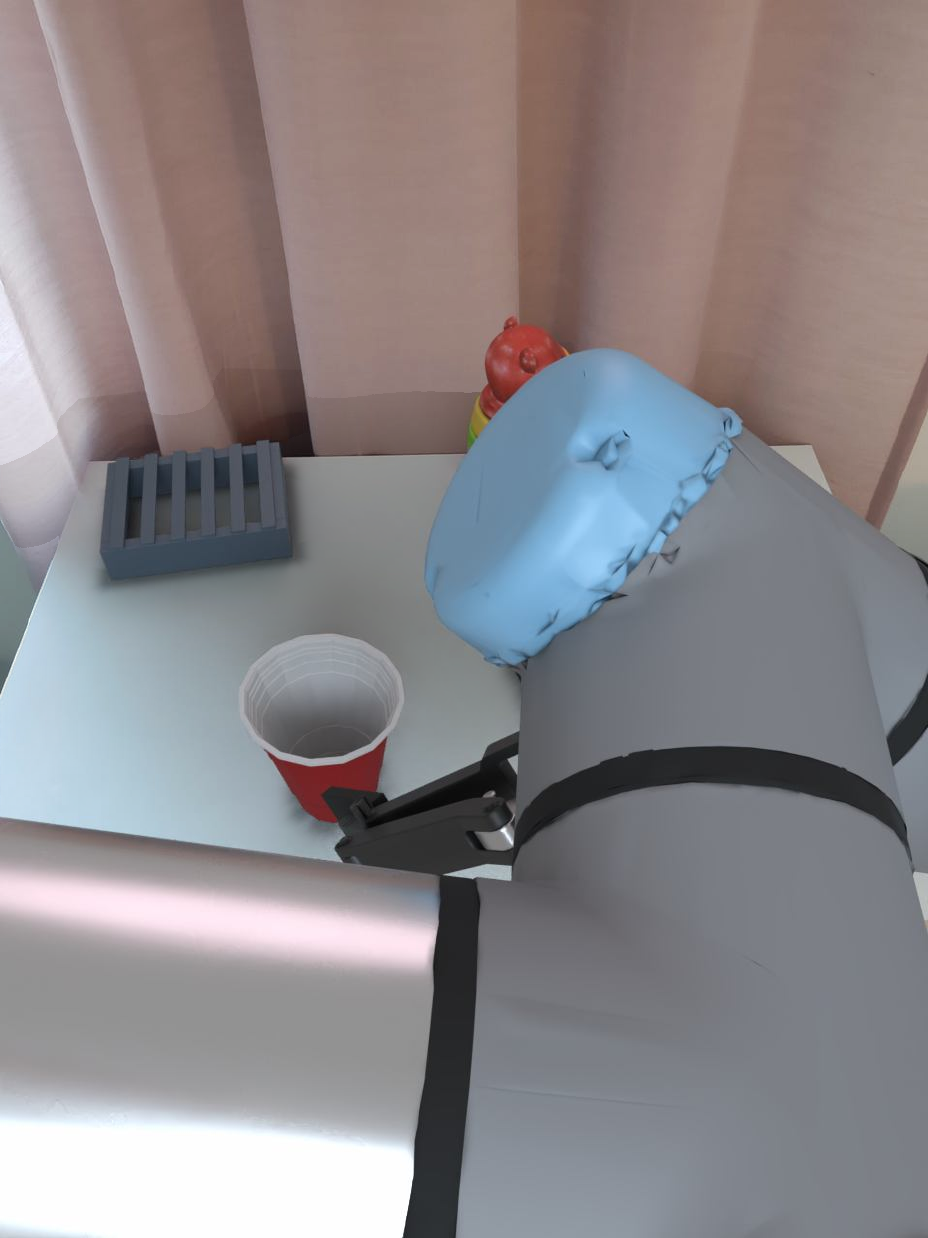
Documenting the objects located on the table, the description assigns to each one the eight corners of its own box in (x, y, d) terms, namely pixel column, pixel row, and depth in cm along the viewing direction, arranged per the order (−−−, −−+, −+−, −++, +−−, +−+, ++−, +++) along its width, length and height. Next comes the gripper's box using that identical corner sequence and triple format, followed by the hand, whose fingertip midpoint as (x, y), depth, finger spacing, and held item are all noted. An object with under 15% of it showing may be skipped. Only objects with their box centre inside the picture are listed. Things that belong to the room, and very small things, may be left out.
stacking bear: (586, 528, 92) (604, 363, 78) (478, 541, 91) (477, 377, 77) (561, 453, 99) (573, 290, 85) (460, 464, 98) (456, 302, 84)
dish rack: (111, 580, 88) (98, 548, 85) (118, 491, 96) (106, 459, 93) (292, 556, 90) (285, 523, 87) (284, 470, 98) (278, 438, 95)
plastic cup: (433, 827, 72) (426, 731, 63) (286, 875, 69) (256, 783, 60) (388, 711, 78) (376, 610, 69) (253, 752, 76) (222, 653, 67)
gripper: (518, 1064, 32) (294, 940, 50) (909, 635, 43) (609, 663, 62) (395, 880, 30) (210, 823, 49) (833, 486, 42) (549, 560, 60)
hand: (432, 733), depth 55 cm, fingers open, 13 cm apart
